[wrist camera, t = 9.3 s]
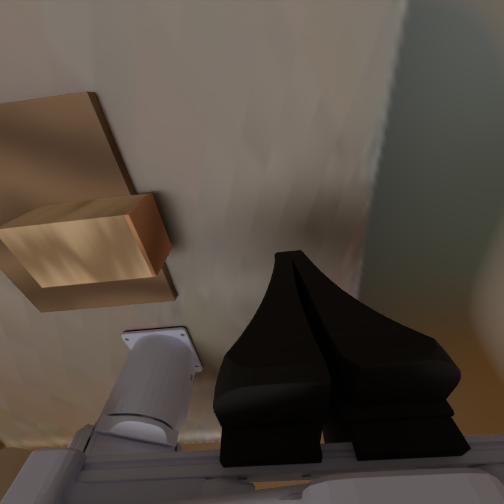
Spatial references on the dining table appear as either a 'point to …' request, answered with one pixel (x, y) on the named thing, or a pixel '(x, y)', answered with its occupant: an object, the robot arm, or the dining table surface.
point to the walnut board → (65, 190)
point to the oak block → (90, 240)
